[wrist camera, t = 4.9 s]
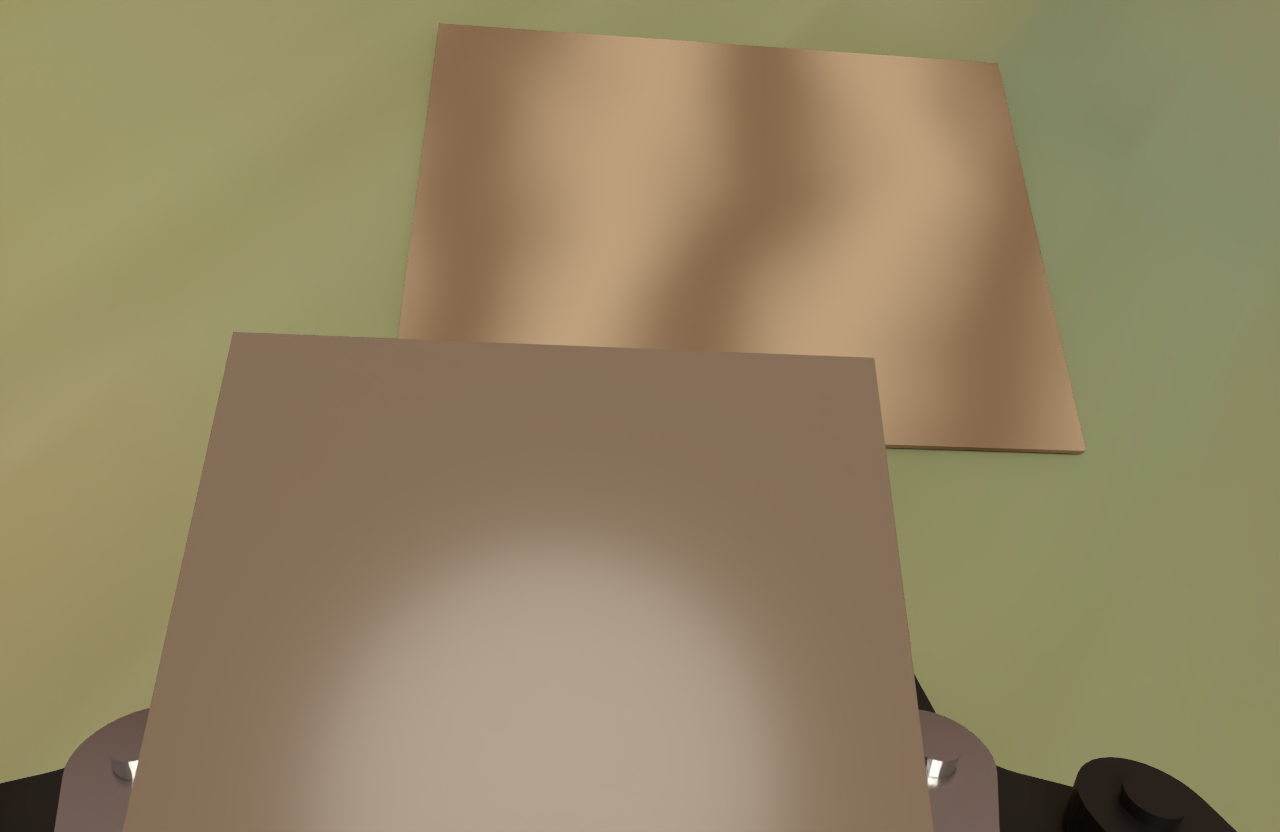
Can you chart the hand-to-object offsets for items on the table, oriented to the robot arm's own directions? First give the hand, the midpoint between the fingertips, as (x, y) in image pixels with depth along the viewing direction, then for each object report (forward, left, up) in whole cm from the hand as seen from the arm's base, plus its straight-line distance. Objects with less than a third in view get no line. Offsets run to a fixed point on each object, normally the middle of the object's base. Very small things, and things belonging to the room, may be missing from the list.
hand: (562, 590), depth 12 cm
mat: (+4, +10, -5) cm, 12 cm away
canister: (0, -2, -5) cm, 5 cm away
